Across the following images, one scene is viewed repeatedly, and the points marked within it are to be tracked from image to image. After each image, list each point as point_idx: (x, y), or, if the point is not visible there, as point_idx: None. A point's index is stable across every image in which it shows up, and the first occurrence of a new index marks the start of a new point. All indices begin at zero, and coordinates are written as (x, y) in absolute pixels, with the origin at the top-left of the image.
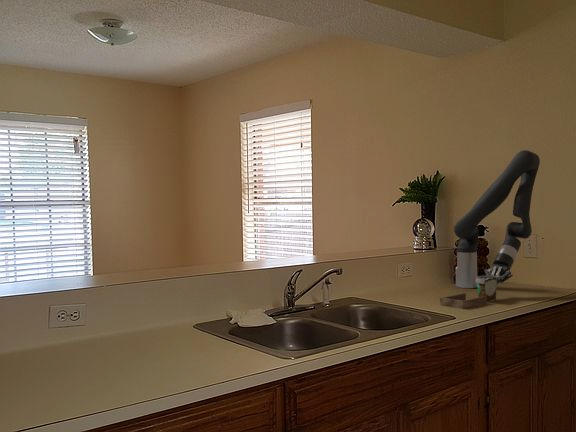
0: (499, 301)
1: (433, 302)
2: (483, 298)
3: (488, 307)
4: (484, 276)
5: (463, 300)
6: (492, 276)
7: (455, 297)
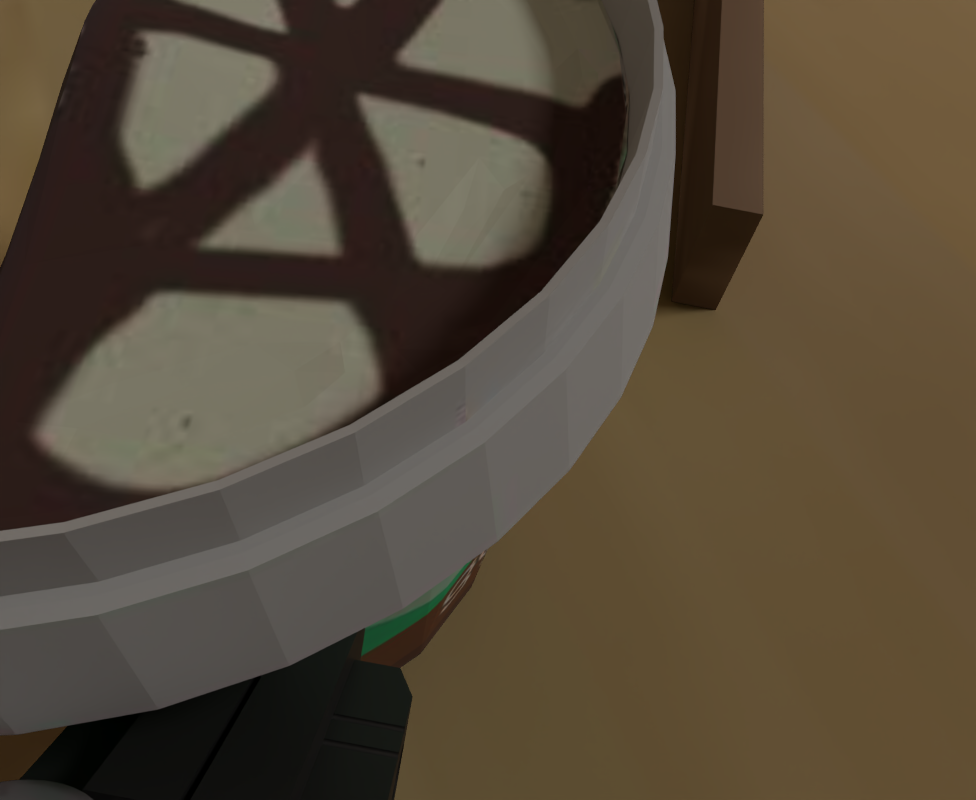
0: None
1: (911, 14)
2: None
3: None
4: (520, 321)
5: (678, 240)
6: (87, 544)
7: (711, 25)
